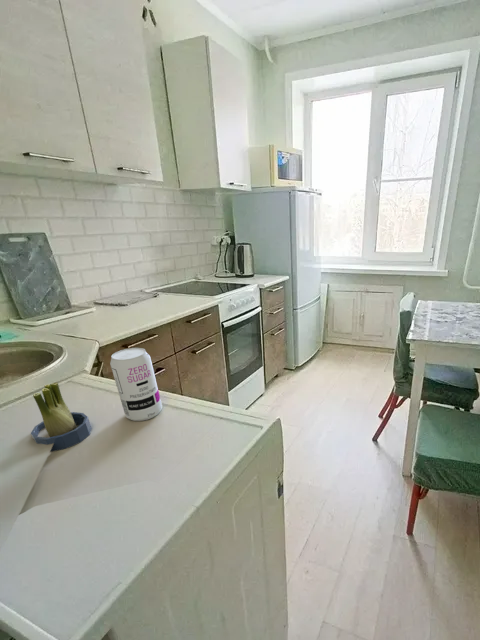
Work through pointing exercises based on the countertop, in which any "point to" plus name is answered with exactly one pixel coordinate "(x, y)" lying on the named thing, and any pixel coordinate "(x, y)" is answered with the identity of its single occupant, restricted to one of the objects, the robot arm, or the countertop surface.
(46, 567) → the countertop surface
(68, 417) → the fennel bulb
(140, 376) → the supplement can
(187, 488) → the countertop surface
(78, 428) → the ring
